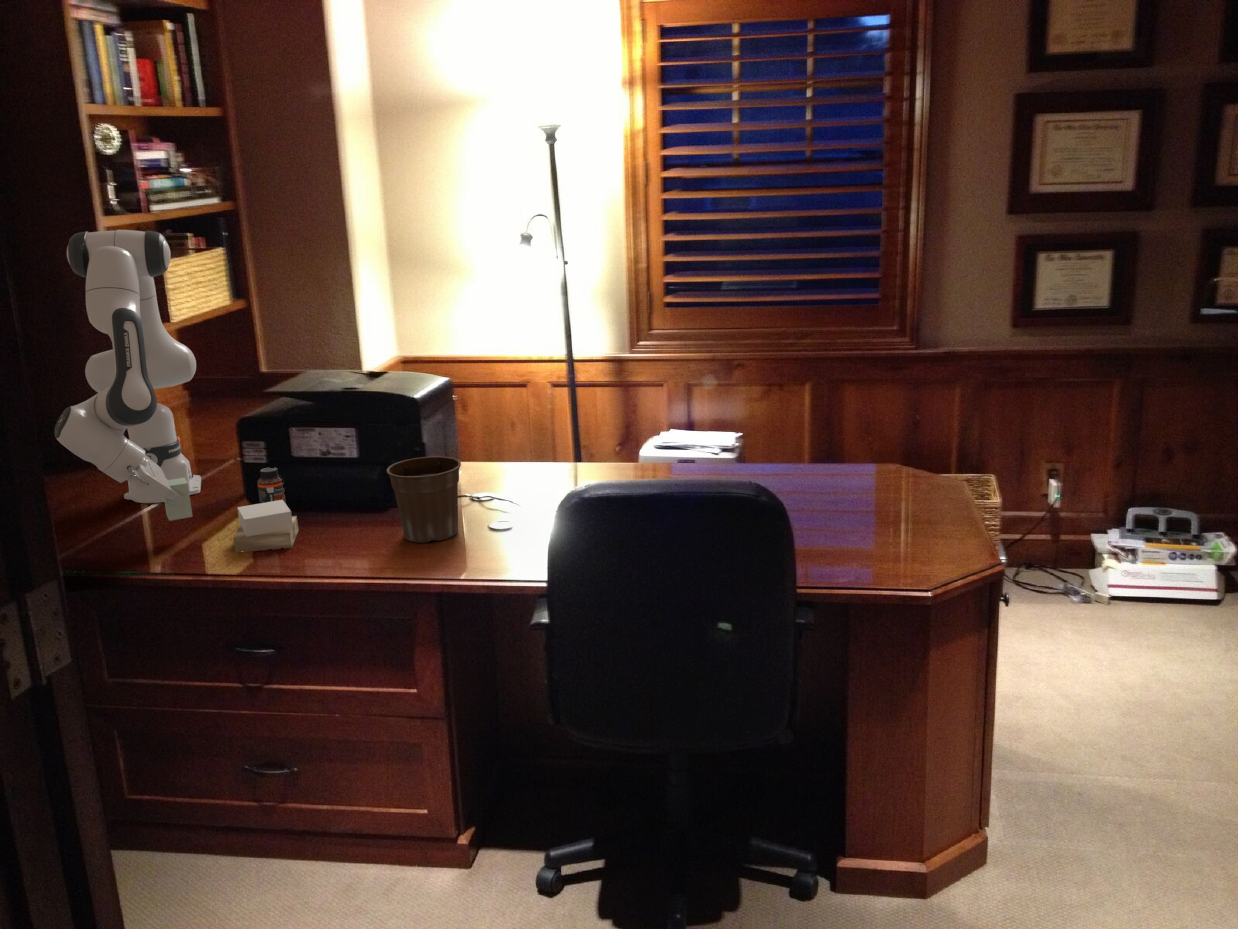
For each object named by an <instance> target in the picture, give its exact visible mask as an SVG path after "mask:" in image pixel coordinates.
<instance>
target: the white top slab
mask: <svg viewBox="0 0 1238 929" xmlns="http://www.w3.org/2000/svg"><path fill="white" fill-rule="evenodd" d="M237 516H238V520H239V526H240V525H241V527H242V529H243V531H244V533H245V534H246V536H247V537H248V536H254V535H259V534H265V533H270V532H276V531H281V530H287V529H292V528H293V523H292V516H293V515H292V511H291V509H290V508H289V507H288V505H287V503H286V504H285V502H284V501H283V500H278V501H272V502H266V503H260V502H259V503H255V504H249V505H243V506H237Z"/></svg>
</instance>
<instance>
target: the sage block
mask: <svg viewBox="0 0 1238 929" xmlns="http://www.w3.org/2000/svg"><path fill="white" fill-rule="evenodd" d="M167 482H168V484H169V486H170V488H171V489H172V490H174V491H175V492H177V493H179V494H180V495H182V496H183V498H184V499H183V501H182V502H181V503H180V504H178V503H176V502H175V501H173V500H171V499H168V498H165V499H164V502H163V503H164V508H165V513H166V517H167V519H168V521H176V520H181V519H182V520H183V519H187V518H193V511H192V502H191V497H190V496H191V495H189V489H188V483H187V481H186V479H185V478H179V479H172V480H167Z"/></svg>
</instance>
